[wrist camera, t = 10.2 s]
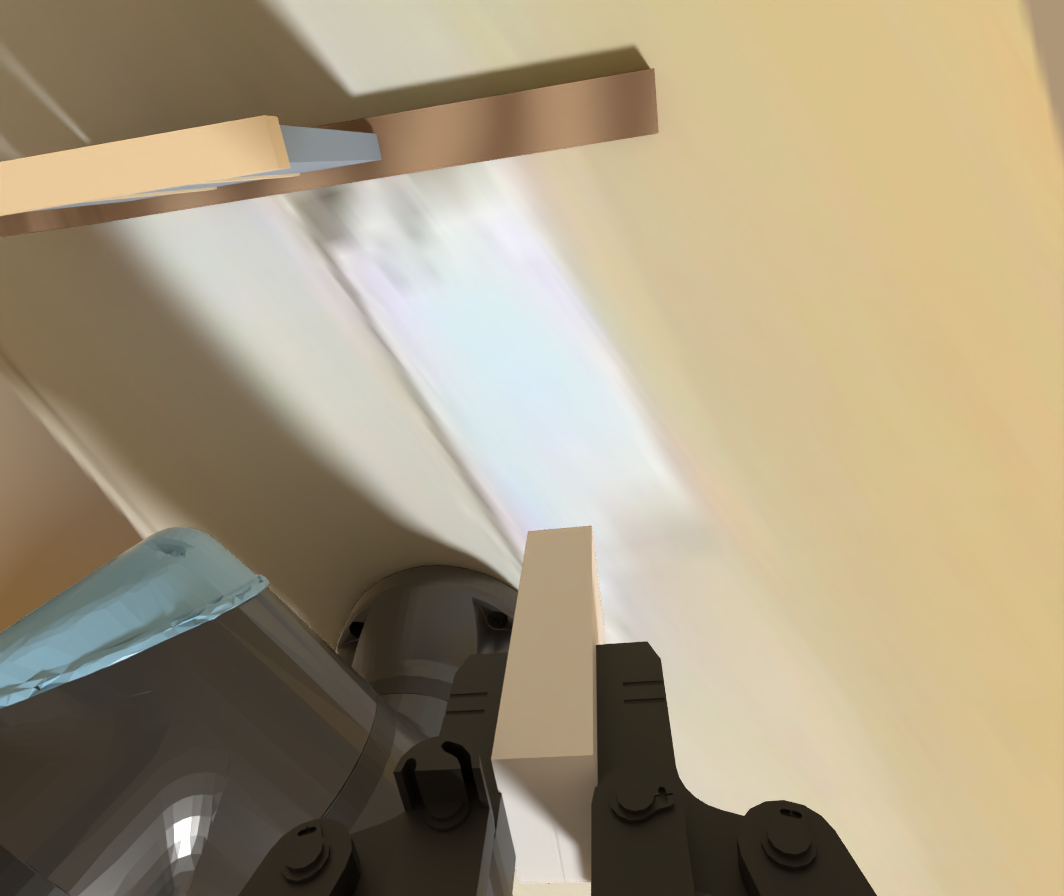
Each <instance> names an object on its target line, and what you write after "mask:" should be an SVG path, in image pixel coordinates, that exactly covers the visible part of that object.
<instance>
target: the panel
mask: <svg viewBox="0 0 1064 896" xmlns="http://www.w3.org/2000/svg"><path fill="white" fill-rule="evenodd" d="M377 160H382V158H381V153H380V148H379V144H378V139H377V134H373V133H362V132H352V131H341V130H330V129H320V128H309V127H298V126H287V125H280V124H279V121H278V117H276V116H268V115H262V116H257V117H251V118H245V119H240V120H234V121H228V122H223V123H217V124H211V125H206V126H200V127H194V128H189V129H183V130H177V131H172V132H166V133H161V134H155V135H149V136H144V137H138V138H132V139H127V140H121V141H115V142H110V143H104V144H98V145H93V146H87V147H82V148H76V149H70V150H65V151H59V152H53V153H48V154H42V155H36V156H31V157H25V158H19V159H14V160H8V161H2V162H0V216H4V215H10V214H16V213H22V212H30V211H40V210H50V209H59V208H69V207H79V206H88V205H98V204H108V203H117V202H127V201H134V200H140V199H146V198H152V197H158V196H164V195H170V194H178V193H188V192H198V191H208V190H214V189H217V187H219V186H225V185H231V184H237V183H243V182H249V181H256V180H262V179H272V178H285V177H293V176H299V175H300V173H304V172H310V171H316V170H323V169H329V168H335V167H341V166H347V165H353V164H359V163H365V162H371V161H377Z"/></svg>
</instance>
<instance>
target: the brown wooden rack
mask: <svg viewBox="0 0 1064 896" xmlns="http://www.w3.org/2000/svg"><path fill="white" fill-rule="evenodd" d="M311 128H320V129H330V130H341V131H352V132H362V133H373V134H377V139H378V144H379V148H380V153H381V158H382V160H377V161H371V162H365V163H359V164H353V165H347V166H341V167H335V168H329V169H323V170H316V171H310V172H304V173H300V175H299V176H293V177H285V178H272V179H262V180H256V181H249V182H243V183H237V184H231V185H225V186H219V187H217V189H214V190H208V191H198V192H188V193H178V194H170V195H164V196H158V197H152V198H146V199H140V200H134V201H127V202H117V203H108V204H98V205H88V206H79V207H69V208H59V209H50V210H40V211H30V212H22V213H16V214H10V215H4V216H0V237H4V236H11V235H18V234H25V233H32V232H39V231H46V230H54V229H61V228H68V227H75V226H82V225H89V224H96V223H103V222H109V221H115V220H121V219H128V218H134V217H140V216H146V215H153V214H159V213H165V212H171V211H177V210H184V209H190V208H196V207H202V206H209V205H215V204H221V203H227V202H233V201H240V200H246V199H252V198H258V197H265V196H271V195H277V194H283V193H289V192H296V191H302V190H308V189H314V188H321V187H327V186H333V185H339V184H345V183H352V182H358V181H364V180H370V179H377V178H383V177H389V176H395V175H401V174H408V173H414V172H420V171H426V170H433V169H439V168H445V167H451V166H457V165H464V164H470V163H476V162H482V161H489V160H495V159H501V158H507V157H513V156H520V155H526V154H532V153H538V152H545V151H551V150H557V149H563V148H569V147H576V146H582V145H588V144H594V143H601V142H607V141H613V140H619V139H625V138H632V137H638V136H644V135H650V134H656V133H658V118H657V103H656V88H655V73H654V68H652V69H647V70H641V71H635V72H629V73H624V74H618V75H612V76H606V77H600V78H595V79H589V80H583V81H577V82H572V83H566V84H560V85H554V86H548V87H543V88H537V89H531V90H525V91H520V92H514V93H508V94H502V95H496V96H491V97H485V98H479V99H473V100H468V101H462V102H456V103H450V104H444V105H439V106H433V107H427V108H421V109H415V110H410V111H404V112H398V113H392V114H387V115H381V116H375V117H369V118H363V119H358V120H352V121H346V122H340V123H335V124H329V125H323V126H317V127H311Z"/></svg>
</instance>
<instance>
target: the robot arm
mask: <svg viewBox="0 0 1064 896" xmlns="http://www.w3.org/2000/svg"><path fill="white" fill-rule="evenodd" d="M269 583H270V582H269V580H268V579H267V578H266V577H265V576H263V575H259V574H255V573H254V572H252V571H251V570H250V569H249V568H248V567H247V566H245V565H244V564H243V563H242V562H241V561H240V560H238V559H237V558H236V557H235V556H234V555H233V554H232V553H230V552H229V551H228V550H227V549H226V548H225V547H223V546H222V545H221V544H220V543H219V542H218V541H216V540H215V539H214V538H213V537H211V536H210V535H208V534H207V533H205V532H203V531H201V530H198V529H194V528H189V527H174V528H168V529H164V530H162V531H159V532H157V533H155V534H153V535H151V536H149V537H148V538H146V539H144V540H143V541H141V542H140V543H138V544H136V545H135V546H133V547H132V548H130V549H128V550H127V551H125V552H124V553H122V554H121V555H119V556H118V557H116V558H114V559H113V560H111V561H110V562H108V563H107V564H105V565H104V566H102V567H101V568H99V569H98V570H96V571H94V572H93V573H91V574H90V575H88V576H87V577H85V578H84V579H82V580H81V581H79V582H77V583H76V584H74V585H73V586H71V587H70V588H68V589H66V590H65V591H63V592H62V593H60V594H59V595H57V596H56V597H54V598H52V599H51V600H49V601H48V602H46V603H45V604H43V605H42V606H40V607H39V608H38V609H36V610H34V611H33V612H31V613H29V614H28V615H27V616H25V617H23V618H22V619H20V620H19V621H17V622H16V623H14V624H13V625H11V626H10V627H8V628H6V629H5V630H4V631H2V632H1V633H0V896H513V895H512V890H513V880H514V871H515V867H516V871H517V875H518V880H519V884H521V883H569V882H591V896H877V895H876V893H875V892H874V890H873V889H872V887H871V886H870V884H869V883H868V881H867V879H866V878H865V876H864V875H863V873H862V872H861V870H860V869H859V867H858V865H857V864H856V862H855V861H854V859H853V858H852V856H851V855H850V853H849V852H848V850H847V848H846V847H845V845H844V844H843V842H842V841H841V839H840V838H839V836H838V834H837V833H836V831H835V830H834V829H833V828H832V827H831V826H830V825H829V824H828V822H827V821H826V820H825V819H824V818H823V817H822V816H821V815H819V814H818V813H816V812H814V811H812V810H811V809H809V808H807V807H806V806H804V805H801V804H797V803H793V802H789V801H785V800H780V801H766V802H763V803H761V804H759V805H757V806H755V807H753V808H751V809H750V810H749V811H748V812H747V813H746V815H745V816H742V815H738V814H734V813H731V812H727V811H723V810H720V809H717V808H715V807H712V806H709V805H707V804H705V803H704V802H702V801H700V800H699V799H697V798H696V797H694V796H693V795H692V794H691V793H690V792H689V791H688V790H687V789H686V788H685V786H684V784H683V783H682V781H681V780H680V778H679V775H678V772H677V769H676V764H675V757H674V750H673V743H672V736H671V729H670V722H669V715H668V707H667V701H666V693H665V686H664V679H663V672H662V665H661V659H660V658H659V656H658V655H657V654H656V652H655V651H654V650H653V648H652V647H651V646H650V644H649V643H648V642H633V643H618V644H605V641H604V618H603V610H602V603H601V595H600V587H599V579H598V571H597V564H596V556H595V548H594V540H593V532H592V526H583V527H572V528H561V529H549V530H538V531H528V535H527V541H526V547H525V554H524V560H523V566H522V572H521V578H520V584H519V591H518V593H517V592H516V591H515V590H513V589H512V588H510V587H509V586H507V585H505V584H504V583H502V582H500V581H498V580H496V579H494V578H492V577H490V576H487V575H485V574H482V573H479V572H476V571H472V570H469V569H464V568H459V567H451V566H424V567H417V568H411V569H408V570H404V571H401V572H398V573H395V574H393V575H390V576H388V577H386V578H384V579H382V580H381V581H379V582H378V583H376V584H375V585H373V586H372V587H371V588H370V589H368V590H367V591H366V592H365V593H364V594H363V595H362V596H361V598H360V599H359V600H358V601H357V603H356V604H355V606H354V607H353V609H352V611H351V613H350V615H349V617H348V619H347V621H346V623H345V625H344V627H343V629H342V631H341V633H340V636H339V639H338V643H337V647H336V652H335V651H334V650H333V649H332V648H331V647H330V646H329V645H328V644H327V643H326V642H325V641H323V640H322V639H321V638H320V637H319V636H318V635H317V634H316V633H315V632H314V631H313V630H312V629H311V628H310V627H309V626H308V625H307V624H306V623H305V622H304V621H302V620H301V619H300V618H299V617H298V616H297V615H296V614H295V613H294V612H293V611H292V610H291V609H290V608H289V607H288V606H287V605H286V604H285V603H284V602H283V601H282V600H280V599H279V598H278V597H277V596H276V595H275V594H274V593H273V592H272V591H271V590H270V589H269V588H268V587H267V586H268V585H269Z"/></svg>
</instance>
